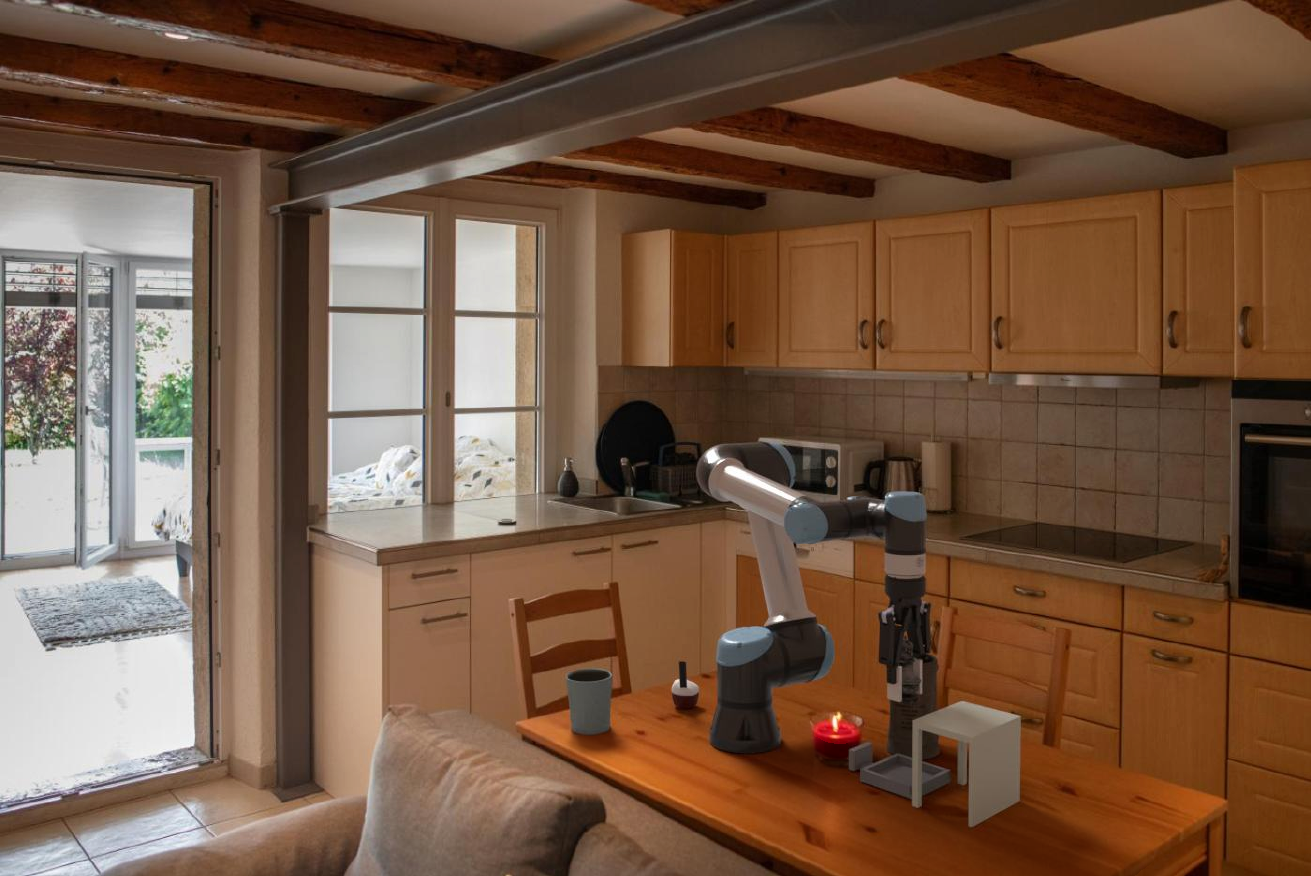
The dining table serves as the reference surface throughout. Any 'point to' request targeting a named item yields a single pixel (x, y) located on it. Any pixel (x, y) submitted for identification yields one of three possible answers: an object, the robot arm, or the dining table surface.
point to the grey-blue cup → (589, 700)
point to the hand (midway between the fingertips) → (904, 695)
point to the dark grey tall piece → (908, 673)
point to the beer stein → (915, 716)
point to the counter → (975, 755)
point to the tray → (895, 772)
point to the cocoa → (684, 690)
